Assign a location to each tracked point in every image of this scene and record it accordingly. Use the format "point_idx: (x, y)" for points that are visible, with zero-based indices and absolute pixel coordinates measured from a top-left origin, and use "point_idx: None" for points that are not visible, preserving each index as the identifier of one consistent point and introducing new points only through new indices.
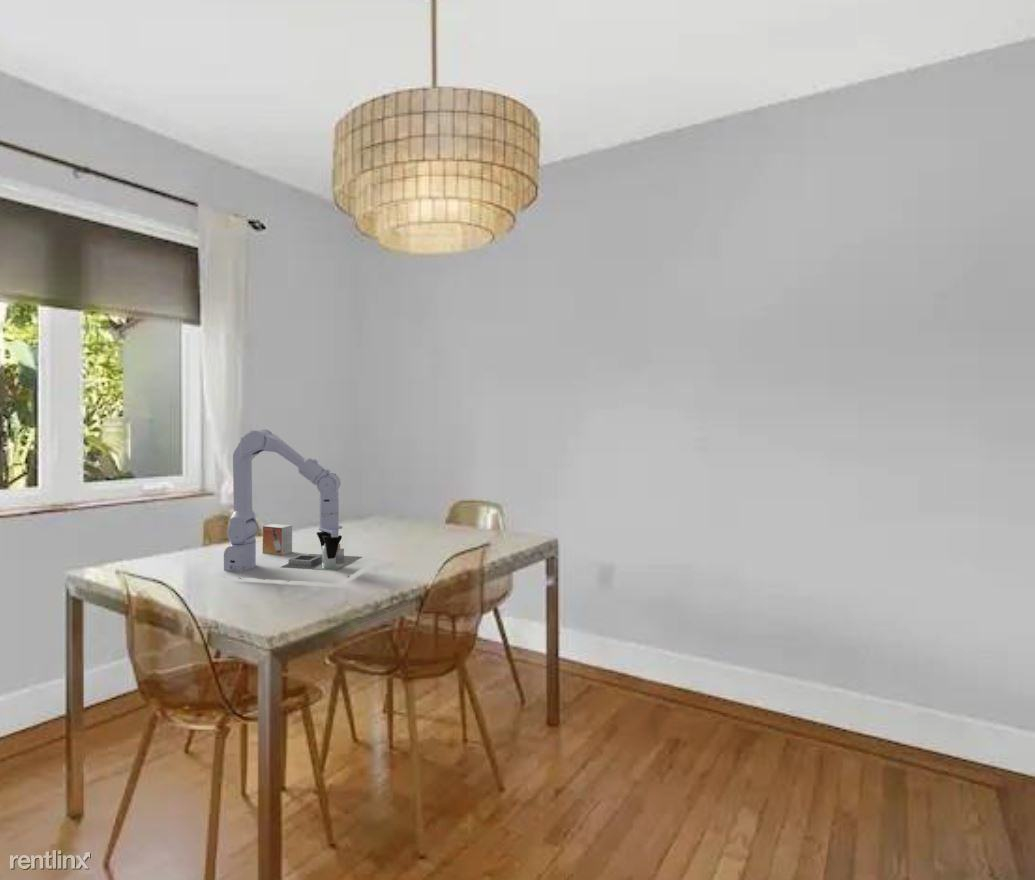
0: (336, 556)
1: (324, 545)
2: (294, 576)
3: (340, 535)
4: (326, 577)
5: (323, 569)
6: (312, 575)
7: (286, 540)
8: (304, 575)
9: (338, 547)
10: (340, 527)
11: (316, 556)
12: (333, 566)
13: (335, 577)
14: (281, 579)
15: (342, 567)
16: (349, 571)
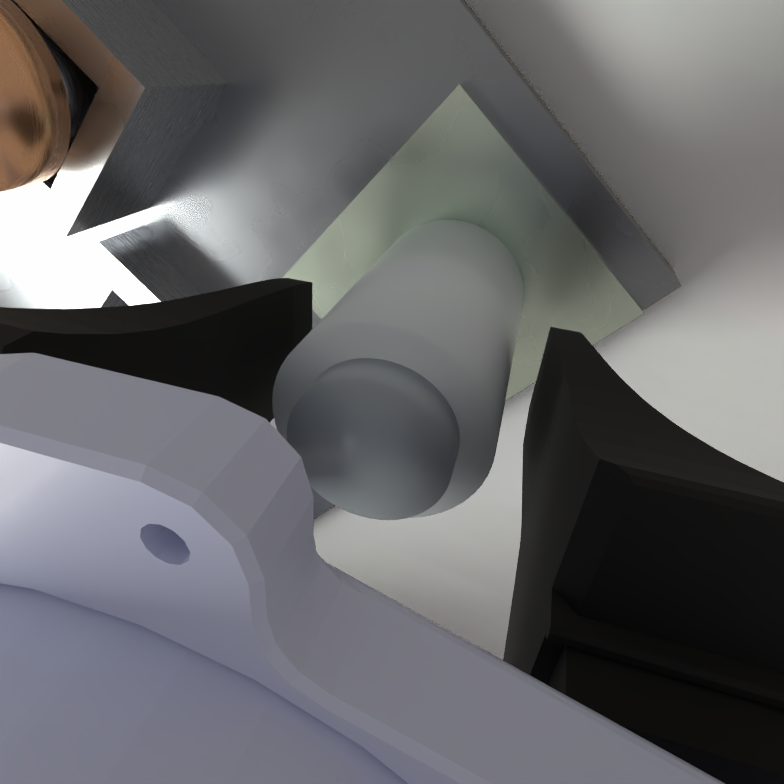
0: (181, 100)
1: (379, 502)
2: (461, 544)
3: (647, 493)
4: (686, 403)
5: (527, 386)
6: (520, 452)
7: None
8: (478, 490)
9: (35, 42)
10: (287, 581)
11: (108, 295)
12: (519, 276)
13: (768, 339)
14: (487, 619)
15: (567, 163)
16: (637, 72)
